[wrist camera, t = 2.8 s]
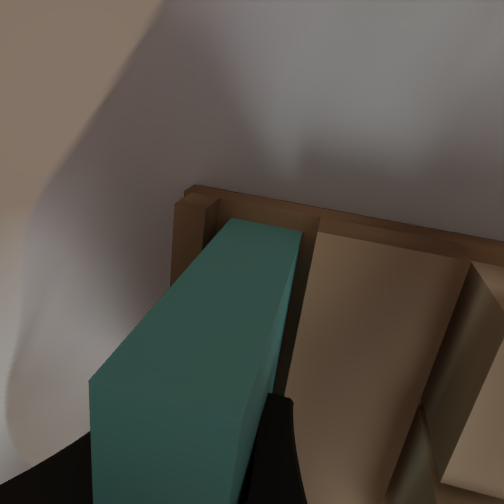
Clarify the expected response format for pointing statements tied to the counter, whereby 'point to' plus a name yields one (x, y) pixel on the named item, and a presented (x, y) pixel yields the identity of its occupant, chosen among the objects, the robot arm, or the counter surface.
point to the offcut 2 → (425, 473)
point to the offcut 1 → (470, 387)
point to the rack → (348, 328)
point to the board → (195, 376)
